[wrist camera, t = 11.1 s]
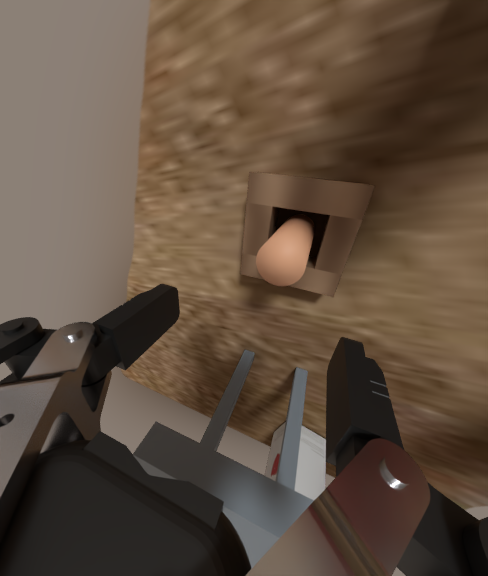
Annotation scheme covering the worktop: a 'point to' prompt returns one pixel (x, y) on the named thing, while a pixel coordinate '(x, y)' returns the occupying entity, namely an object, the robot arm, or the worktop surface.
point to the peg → (286, 251)
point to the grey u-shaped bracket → (236, 468)
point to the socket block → (311, 198)
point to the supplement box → (302, 462)
